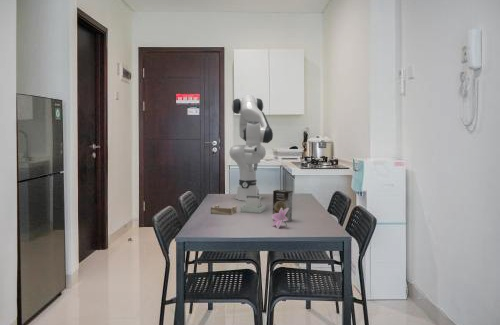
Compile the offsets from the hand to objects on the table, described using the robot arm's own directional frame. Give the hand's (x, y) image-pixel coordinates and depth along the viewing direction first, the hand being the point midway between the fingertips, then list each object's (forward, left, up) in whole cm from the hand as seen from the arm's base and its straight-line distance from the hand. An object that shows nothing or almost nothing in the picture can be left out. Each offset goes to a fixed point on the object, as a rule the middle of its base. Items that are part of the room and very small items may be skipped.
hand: (253, 171), depth 251 cm
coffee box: (+20, +23, -25) cm, 39 cm away
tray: (0, 0, -24) cm, 24 cm away
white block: (0, 0, -24) cm, 24 cm away
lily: (+37, +26, -25) cm, 51 cm away
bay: (+10, -15, -24) cm, 30 cm away
